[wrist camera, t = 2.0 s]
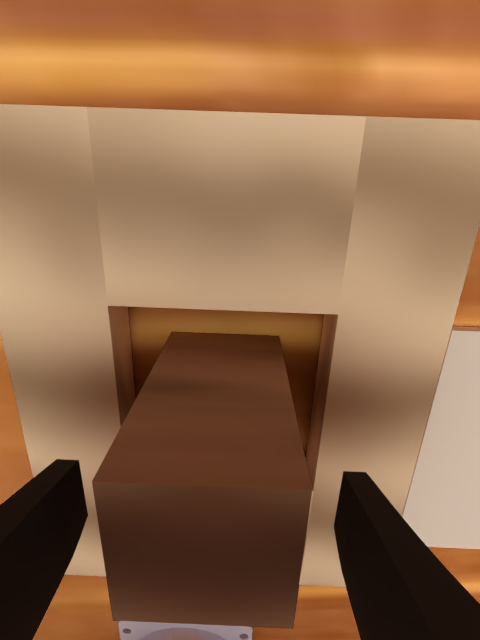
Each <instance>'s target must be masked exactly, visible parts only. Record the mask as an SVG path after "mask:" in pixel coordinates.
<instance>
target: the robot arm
mask: <svg viewBox="0 0 480 640" xmlns="http://www.w3.org/2000/svg"><path fill="white" fill-rule="evenodd" d="M87 517H88V512H87V506H86V500H85V494H84V488H83V482H82V476H81V470H80V464H79V460H65V459H56V460H55V461H54V462H52V463H51V464H50V465H49V466H47V467H46V468H45V469H44V470H43V471H41V472H40V473H39V474H38V475H36V476H35V477H34V478H33V479H32V480H30V481H29V482H28V483H27V484H26V485H24V486H23V487H22V488H21V489H20V490H18V491H17V492H16V493H15V494H13V495H12V496H11V497H10V498H9V499H7V500H6V501H5V502H4V503H2V504H1V505H0V640H32V639H33V637H34V635H35V633H36V631H37V629H38V627H39V625H40V623H41V621H42V619H43V617H44V615H45V613H46V611H47V609H48V607H49V605H50V603H51V601H52V599H53V597H54V595H55V593H56V591H57V589H58V587H59V584H60V582H61V580H62V578H63V576H64V574H65V572H66V570H67V568H68V566H69V564H70V562H71V560H72V558H73V555H74V553H75V550H76V547H77V545H78V542H79V539H80V537H81V534H82V531H83V528H84V526H85V523H86V520H87ZM334 531H335V537H336V543H337V549H338V555H339V560H340V565H341V570H342V574H343V577H344V581H345V585H346V588H347V592H348V595H349V599H350V603H351V606H352V610H353V613H354V617H355V620H356V624H357V627H358V631H359V634H360V638H361V640H480V604H479V603H478V602H477V601H476V600H475V599H474V598H473V597H472V596H471V594H470V593H469V592H468V591H467V590H466V589H465V588H464V587H463V586H462V585H461V584H460V583H459V582H458V580H457V579H456V578H455V577H454V576H453V575H452V574H451V573H450V572H449V571H448V570H447V569H446V567H445V566H444V565H443V564H442V563H441V562H440V561H439V560H438V558H437V557H436V556H435V555H434V554H433V553H432V552H431V550H430V549H429V548H428V547H427V546H426V545H425V543H424V542H423V541H422V540H421V539H420V538H419V536H418V535H417V534H416V533H415V532H414V531H413V529H412V528H411V527H410V526H409V525H408V523H407V522H406V521H405V520H404V519H403V517H402V516H401V515H400V514H399V512H398V511H397V510H396V509H395V507H394V506H393V505H392V504H391V502H390V501H389V500H388V499H387V497H386V496H385V495H384V494H383V492H382V491H381V490H380V489H379V487H378V486H377V485H376V484H375V482H374V481H373V480H372V479H371V477H370V476H369V475H368V474H367V473H366V472H351V471H343V476H342V482H341V487H340V493H339V499H338V504H337V510H336V515H335V521H334ZM118 627H119V634H120V640H252V632H253V627H247V626H225V625H202V624H180V623H158V622H135V621H119V622H118Z"/></svg>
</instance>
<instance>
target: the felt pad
mask: <svg viewBox="0 0 480 640" xmlns="http://www.w3.org/2000/svg"><path fill="white" fill-rule="evenodd" d="M402 517H403V519H404V520H405V521H406V522H407V523H408V525H409V526H410V527H411V528H412V529H413V531H414V532H415V533H416V534H417V535H418V536H419V538H420V539H421V540H422V541H423V542H424V543H425V545H426V546H427V547H445V548H468V549H480V327H463V326H452V330H451V334H450V337H449V341H448V345H447V349H446V352H445V356H444V360H443V364H442V367H441V371H440V375H439V379H438V382H437V386H436V390H435V394H434V397H433V401H432V405H431V408H430V412H429V416H428V420H427V423H426V427H425V431H424V435H423V438H422V442H421V446H420V450H419V453H418V457H417V461H416V465H415V468H414V472H413V476H412V480H411V483H410V487H409V491H408V495H407V498H406V502H405V506H404V510H403V513H402Z"/></svg>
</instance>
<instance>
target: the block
mask: <svg viewBox="0 0 480 640" xmlns="http://www.w3.org/2000/svg"><path fill="white" fill-rule="evenodd" d="M92 486H93V492H94V499H95V506H96V512H97V519H98V525H99V532H100V539H101V545H102V552H103V558H104V565H105V572H106V578H107V585H108V591H109V598H110V605H111V611H112V618H113V621H135V622H158V623H180V624H202V625H225V626H247V627H269V628H292V629H293V625H294V618H295V611H296V604H297V597H298V590H299V582H300V575H301V568H302V561H303V554H304V547H305V539H306V532H307V525H308V518H309V511H310V504H311V496H312V487H311V482H310V478H309V473H308V468H307V464H306V459H305V454H304V450H303V445H302V441H301V436H300V431H299V427H298V422H297V417H296V413H295V408H294V403H293V399H292V394H291V389H290V385H289V380H288V376H287V371H286V366H285V362H284V357H283V352H282V348H281V343H280V338H279V336H270V335H244V334H219V333H193V332H171V334H170V336H169V338H168V340H167V342H166V344H165V345H164V347H163V349H162V351H161V353H160V355H159V357H158V359H157V360H156V362H155V364H154V366H153V368H152V370H151V372H150V374H149V375H148V377H147V379H146V381H145V383H144V385H143V387H142V388H141V390H140V392H139V394H138V396H137V398H136V400H135V402H134V403H133V405H132V407H131V409H130V411H129V413H128V415H127V417H126V418H125V420H124V422H123V424H122V426H121V428H120V430H119V432H118V433H117V435H116V437H115V439H114V441H113V443H112V445H111V447H110V448H109V450H108V452H107V454H106V456H105V458H104V460H103V461H102V463H101V465H100V467H99V469H98V471H97V473H96V475H95V476H94V478H93V480H92Z"/></svg>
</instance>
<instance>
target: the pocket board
mask: <svg viewBox="0 0 480 640" xmlns="http://www.w3.org/2000/svg"><path fill="white" fill-rule="evenodd" d="M479 225H480V120H457V119H428V118H398V117H368V116H339V115H309V114H280V113H250V112H220V111H191V110H161V109H132V108H102V107H72V106H43V105H13V104H0V333H1V337H2V342H3V346H4V351H5V355H6V359H7V364H8V368H9V373H10V377H11V381H12V386H13V390H14V395H15V399H16V404H17V408H18V412H19V417H20V421H21V426H22V430H23V434H24V439H25V443H26V448H27V452H28V457H29V461H30V465H31V470H32V474H33V478H34V477H35V476H36V475H38V474H39V473H40V472H41V471H43V470H44V469H45V468H46V467H47V466H49V465H50V464H51V463H52V462H54V461H55V460H56V459H65V460H79V464H80V470H81V476H82V482H83V488H84V494H85V500H86V506H87V512H88V517H87V520H86V523H85V526H84V528H83V531H82V534H81V537H80V539H79V542H78V545H77V547H76V550H75V553H74V555H73V558H72V560H71V562H70V564H69V566H68V568H67V570H66V572H65V574H64V575H86V576H106V572H105V565H104V558H103V552H102V545H101V539H100V532H99V525H98V519H97V512H96V506H95V499H94V492H93V486H92V480H93V478H94V476H95V475H96V473H97V471H98V469H99V467H100V465H101V463H102V461H103V460H104V458H105V456H106V454H107V452H108V450H109V448H110V447H111V445H112V443H113V441H114V439H115V437H116V435H117V433H118V432H119V430H120V428H121V426H122V424H123V422H124V420H125V418H126V417H127V415H128V413H129V411H130V409H131V407H132V405H133V403H134V402H135V400H136V396H135V384H134V373H133V361H132V349H131V337H130V325H129V313H128V307H154V308H180V309H206V310H232V311H258V312H285V313H311V314H324V318H323V326H322V334H321V342H320V350H319V358H318V366H317V374H316V382H315V390H314V398H313V405H312V413H311V421H310V429H309V437H308V445H307V453H306V457H305V459H306V464H307V468H308V473H309V478H310V482H311V487H312V496H311V504H310V511H309V518H308V525H307V532H306V539H305V547H304V554H303V561H302V568H301V575H300V582H299V585H313V586H336V587H346V585H345V581H344V577H343V574H342V570H341V565H340V560H339V555H338V549H337V543H336V537H335V531H334V521H335V515H336V510H337V504H338V499H339V493H340V487H341V482H342V476H343V471H351V472H366V473H367V474H368V475H369V476H370V477H371V479H372V480H373V481H374V482H375V484H376V485H377V486H378V487H379V489H380V490H381V491H382V492H383V494H384V495H385V496H386V497H387V499H388V500H389V501H390V502H391V504H392V505H393V506H394V507H395V509H396V510H397V511H398V512H399V514H400V515H401V516H402V513H403V510H404V506H405V502H406V498H407V495H408V491H409V487H410V483H411V480H412V476H413V472H414V468H415V465H416V461H417V457H418V453H419V450H420V446H421V442H422V438H423V435H424V431H425V427H426V423H427V420H428V416H429V412H430V408H431V405H432V401H433V397H434V394H435V390H436V386H437V382H438V379H439V375H440V371H441V367H442V364H443V360H444V356H445V352H446V349H447V345H448V341H449V337H450V334H451V330H452V326H453V322H454V319H455V315H456V311H457V307H458V304H459V300H460V296H461V292H462V289H463V285H464V281H465V277H466V274H467V270H468V266H469V262H470V259H471V255H472V251H473V247H474V244H475V240H476V236H477V232H478V229H479Z"/></svg>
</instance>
